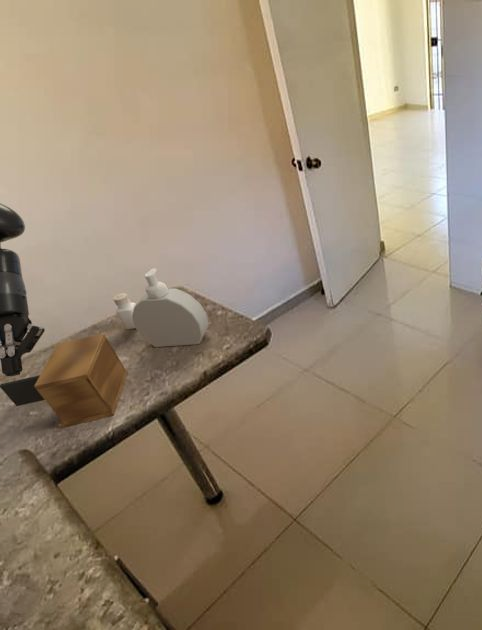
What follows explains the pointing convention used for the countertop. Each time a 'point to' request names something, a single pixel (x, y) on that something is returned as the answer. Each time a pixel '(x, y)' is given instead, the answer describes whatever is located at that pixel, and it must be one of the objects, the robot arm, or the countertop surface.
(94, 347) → the wooden box
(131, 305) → the white bottle
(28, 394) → the dark grey block
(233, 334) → the countertop surface
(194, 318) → the soap bottle
